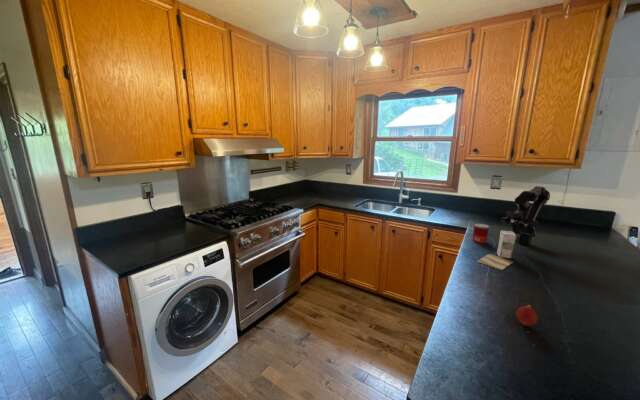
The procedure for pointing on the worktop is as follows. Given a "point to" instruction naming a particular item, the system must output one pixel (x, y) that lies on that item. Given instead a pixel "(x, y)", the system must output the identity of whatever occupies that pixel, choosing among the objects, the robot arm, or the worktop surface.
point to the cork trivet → (495, 261)
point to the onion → (526, 315)
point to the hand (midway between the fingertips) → (514, 235)
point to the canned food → (480, 233)
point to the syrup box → (506, 244)
